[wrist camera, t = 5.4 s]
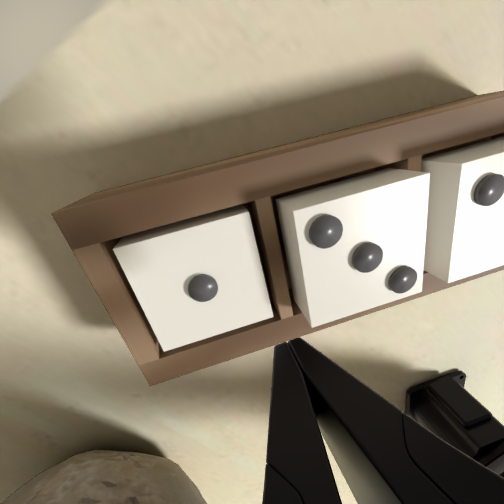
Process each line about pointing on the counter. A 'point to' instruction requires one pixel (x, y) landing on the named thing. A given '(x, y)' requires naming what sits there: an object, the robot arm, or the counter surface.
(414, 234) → the tile three pips
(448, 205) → the tile two pips
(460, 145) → the tile panel
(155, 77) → the counter surface
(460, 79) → the counter surface
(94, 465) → the ceramic bowl
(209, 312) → the tile one pip
